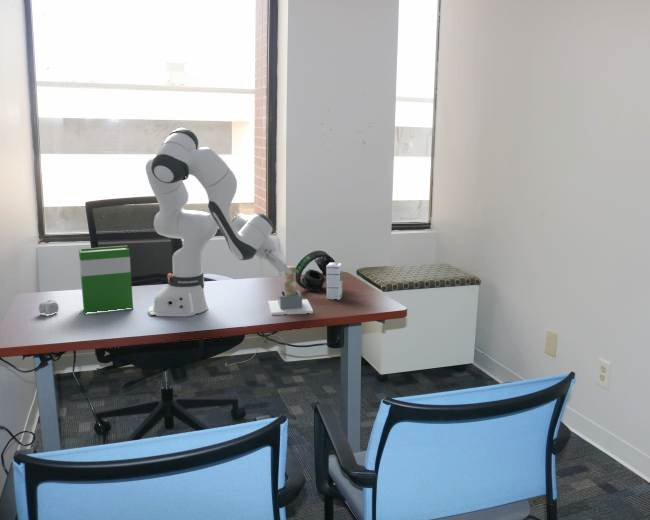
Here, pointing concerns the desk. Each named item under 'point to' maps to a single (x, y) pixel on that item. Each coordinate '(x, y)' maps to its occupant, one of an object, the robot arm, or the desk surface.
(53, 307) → the die
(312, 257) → the headset
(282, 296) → the socket
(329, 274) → the syrup box
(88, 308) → the hardback book
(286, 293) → the peg
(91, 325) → the desk surface
